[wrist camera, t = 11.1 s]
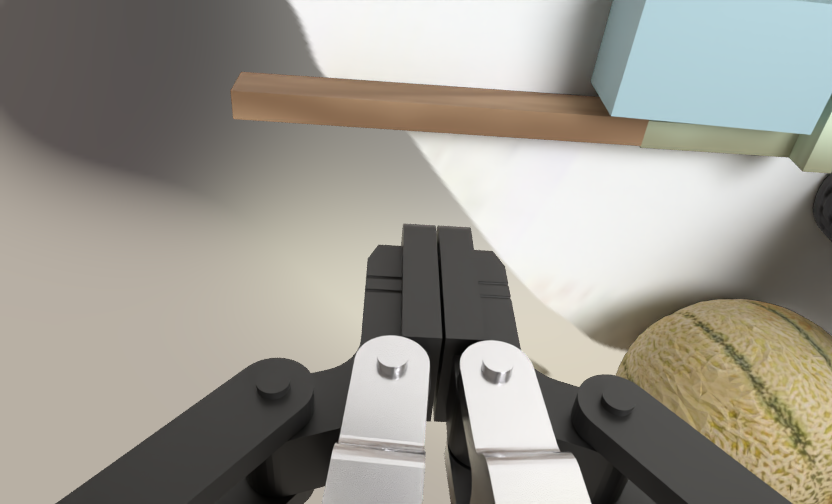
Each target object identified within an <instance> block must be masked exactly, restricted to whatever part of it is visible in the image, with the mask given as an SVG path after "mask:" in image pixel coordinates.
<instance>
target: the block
mask: <svg viewBox="0 0 832 504" xmlns="http://www.w3.org/2000/svg"><path fill="white" fill-rule="evenodd" d="M591 83H592V85H593V87H594V88H595V90H596V92H597V93H598V95H599V97H600V98H601V100H602V102H603V104H604V105H605V107H606V109H607V110H608V112H609V114H610V115H611V116H615V117H626V118H636V119H647V120H658V121H668V122H679V123H690V124H701V125H711V126H722V127H733V128H743V129H754V130H765V131H776V132H786V133H797V134H808V135H811V133H812V131H813V129H814V127H815V125H816V124H817V122H818V120H819V118H820V116H821V114H822V112H823V110H824V108H825V106H826V104H827V102H828V100H829V98H830V96H831V94H832V0H613V2H612V6H611V9H610V13H609V16H608V20H607V24H606V27H605V31H604V35H603V38H602V42H601V46H600V49H599V53H598V57H597V60H596V64H595V68H594V71H593V75H592V78H591Z"/></svg>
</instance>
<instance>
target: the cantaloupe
mask: <svg viewBox="0 0 832 504" xmlns="http://www.w3.org/2000/svg"><path fill="white" fill-rule="evenodd" d="M616 376H619V377H622V378H625V379H627V380H629V381H631V382H633V383H635V384H636V385H638V386H639V387H641V388H642V389H643V390H645V391H646V392H647V393H649V394H650V395H651V396H653V397H654V398H655V399H657V400H658V401H659V402H660V403H662V404H663V405H664V406H666V407H667V408H668V409H670V410H671V411H672V412H674V413H675V414H676V415H677V416H679V417H680V418H681V419H683V420H684V421H685V422H687V423H688V424H689V425H691V426H692V427H693V428H694V429H696V430H697V431H698V432H700V433H701V434H702V435H704V436H705V437H706V438H708V439H709V440H710V441H711V442H713V443H714V444H715V445H717V446H718V447H719V448H721V449H722V450H723V451H725V452H726V453H727V454H728V455H730V456H731V457H732V458H734V459H735V460H736V461H738V462H739V463H740V464H742V465H743V466H744V467H745V468H747V469H748V470H749V471H751V472H752V473H753V474H755V475H756V476H757V477H759V478H760V479H761V480H762V481H764V482H765V483H766V484H768V485H769V486H770V487H772V488H773V489H774V490H776V491H777V492H778V493H779V494H781V495H782V496H783V497H785V498H786V499H787V500H789V501H790V502H791V503H793V504H832V336H831V335H830V334H829V333H827V332H826V331H825V330H824V329H823V328H821V327H820V326H818V325H817V324H815V323H814V322H812V321H810V320H808V319H807V318H805V317H803V316H801V315H799V314H798V313H796V312H793V311H791V310H789V309H786V308H784V307H781V306H778V305H774V304H770V303H765V302H761V301H755V300H749V299H718V300H710V301H704V302H699V303H696V304H693V305H690V306H688V307H685V308H682V309H680V310H678V311H676V312H674V313H673V314H671V315H668V316H665V317H663V318H662V319H660V320H659V321H657V322H655V323H654V324H652V325H651V326H649V327H648V328H647V329H646V330H645V331H644V332H643V333H642V334H640V335H639V336H638V337H637V339H636V340H635V342H634V343H633V344H632V345H631V346H630V348H629V350H628V352H627V353H626V354H625V356H624V358H623V360H622V362H621V364H620V366H619V368H618V371H617V373H616Z"/></svg>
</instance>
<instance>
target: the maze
mask: <svg viewBox="0 0 832 504" xmlns="http://www.w3.org/2000/svg"><path fill="white" fill-rule="evenodd" d="M231 101H232V111H233V119H242V120H258V121H272V122H287V123H288V122H289V123H302V124H317V125H332V126H333V125H334V126H347V127H363V128H379V129H393V130H408V131H423V132H438V133H453V134H468V135H484V136H499V137H514V138H529V139H544V140H559V141H574V142H590V143H605V144H620V145H635V146H640V148H654V149H669V150H684V151H699V152H715V153H730V154H745V155H760V156H775V157H789V158H790V159H791V160H792V161H793V162H794V163H795V164H796V165H797V166H798V167H799V168H800V169H801V170H802V171H804V172H819V173H831V172H832V94H831V96H830V98H829V100H828V102H827V104H826V106H825V108H824V110H823V112H822V114H821V116H820V118H819V120H818V122H817V124H816V125H815V127H814V129H813V131H812V133H811V135H808V134H797V133H786V132H776V131H765V130H754V129H743V128H733V127H722V126H711V125H701V124H690V123H679V122H668V121H658V120H647V119H636V118H626V117H615V116H611V115H610V114H609V112H608V110H607V109H606V107H605V105H604V104H603V102H602V100H601V98H600V97H595V96H581V95H566V94H552V93H538V92H523V91H509V90H495V89H480V88H466V87H452V86H438V85H423V84H409V83H395V82H380V81H366V80H352V79H337V78H323V77H309V76H294V75H280V74H264V73H251V72H241V73H240V75H239V76H238V78H237V80H236V82H235V84H234V85H233V87H232V89H231Z"/></svg>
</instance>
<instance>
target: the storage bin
mask: <svg viewBox="0 0 832 504" xmlns="http://www.w3.org/2000/svg"><path fill="white" fill-rule="evenodd" d="M813 212H814V218H815V221H816V223H817V225H818V227H819V228H820V229H821V230H822V231H823V233H824V234H825V235H826V236H827V237H828V238H829V239H830V240H831V242H832V172H831V173H830V175H829V176H828V177H827V178H826V179H825V181H824V182H823V183H822V185H821V186H820V188H819V190H818V192H817V194H816V198H815V202H814V208H813Z"/></svg>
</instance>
